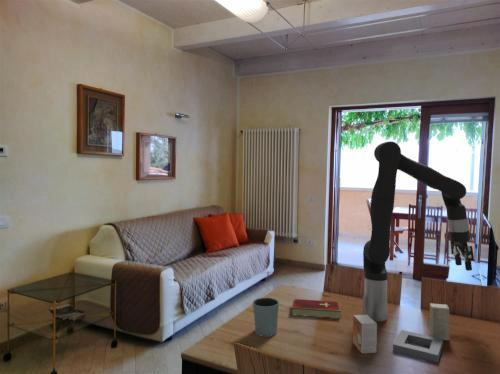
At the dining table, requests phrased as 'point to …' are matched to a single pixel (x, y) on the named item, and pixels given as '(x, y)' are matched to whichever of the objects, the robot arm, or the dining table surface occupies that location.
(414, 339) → the pocket stand
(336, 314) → the hardcover book
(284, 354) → the dining table surface
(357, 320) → the small box
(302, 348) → the dining table surface
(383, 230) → the robot arm
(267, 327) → the grey ceramic cup
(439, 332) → the skincare box
